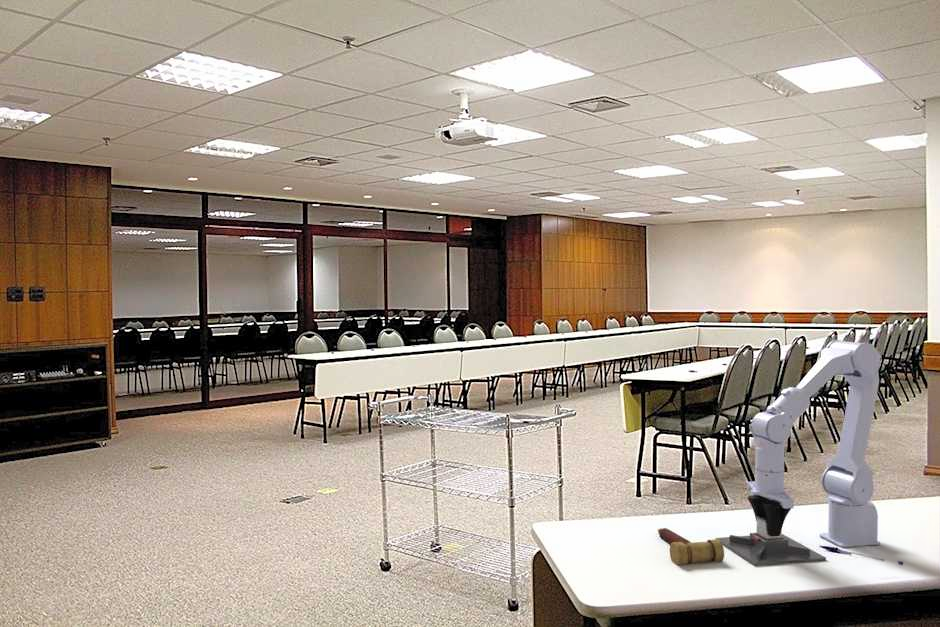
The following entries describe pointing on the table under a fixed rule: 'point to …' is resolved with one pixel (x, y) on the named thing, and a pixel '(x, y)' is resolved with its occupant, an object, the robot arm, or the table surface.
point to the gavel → (692, 549)
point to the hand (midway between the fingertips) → (768, 532)
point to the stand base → (769, 550)
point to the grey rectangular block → (764, 529)
